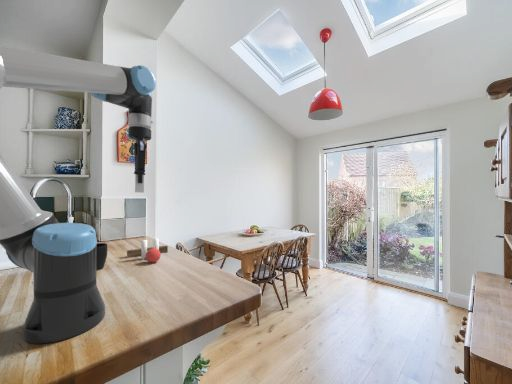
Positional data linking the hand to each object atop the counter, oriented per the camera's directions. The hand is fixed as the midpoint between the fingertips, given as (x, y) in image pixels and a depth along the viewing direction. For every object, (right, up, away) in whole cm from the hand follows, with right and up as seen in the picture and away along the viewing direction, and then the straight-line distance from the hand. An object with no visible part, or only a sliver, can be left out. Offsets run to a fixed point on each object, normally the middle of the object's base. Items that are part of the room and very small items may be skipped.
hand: (139, 192), depth 86 cm
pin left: (-9, -31, +22) cm, 39 cm away
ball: (-2, -28, +17) cm, 33 cm away
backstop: (-10, -31, +29) cm, 44 cm away
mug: (-23, -31, +10) cm, 40 cm away
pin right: (-4, -31, +25) cm, 40 cm away
